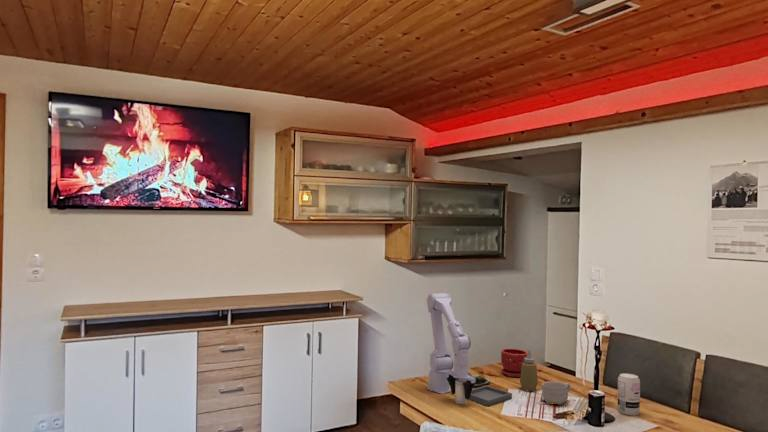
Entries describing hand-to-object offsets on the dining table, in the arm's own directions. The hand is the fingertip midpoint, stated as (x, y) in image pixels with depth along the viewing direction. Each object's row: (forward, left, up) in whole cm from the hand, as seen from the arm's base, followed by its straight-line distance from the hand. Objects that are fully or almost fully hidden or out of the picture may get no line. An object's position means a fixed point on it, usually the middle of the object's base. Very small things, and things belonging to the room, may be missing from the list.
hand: (460, 396), depth 228 cm
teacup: (+26, +33, -3) cm, 42 cm away
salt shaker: (0, 0, -3) cm, 3 cm away
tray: (+4, +13, -3) cm, 14 cm away
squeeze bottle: (+8, +38, -3) cm, 39 cm away
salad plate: (-16, +25, -3) cm, 30 cm away
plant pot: (-11, +53, -3) cm, 54 cm away
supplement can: (+51, +45, -3) cm, 68 cm away
